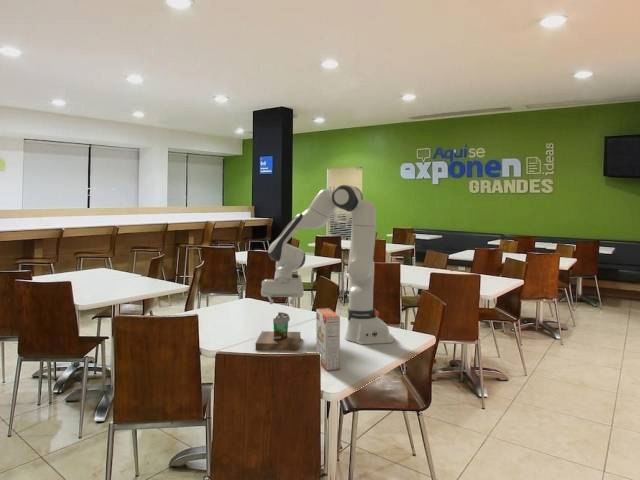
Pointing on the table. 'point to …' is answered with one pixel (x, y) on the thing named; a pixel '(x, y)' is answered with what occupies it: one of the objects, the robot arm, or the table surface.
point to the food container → (281, 326)
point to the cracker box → (328, 338)
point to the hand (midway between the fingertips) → (281, 303)
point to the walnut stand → (277, 341)
